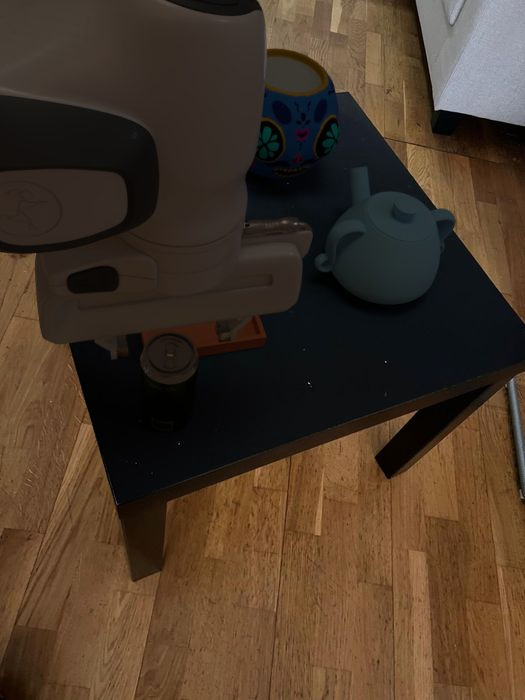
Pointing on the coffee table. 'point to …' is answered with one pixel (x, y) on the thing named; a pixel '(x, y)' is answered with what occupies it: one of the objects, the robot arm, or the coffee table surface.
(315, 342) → the coffee table surface
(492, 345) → the coffee table surface
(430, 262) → the teapot
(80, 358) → the coffee table surface
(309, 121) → the ceramic pot
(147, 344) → the beer can
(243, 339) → the terracotta tray
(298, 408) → the coffee table surface
